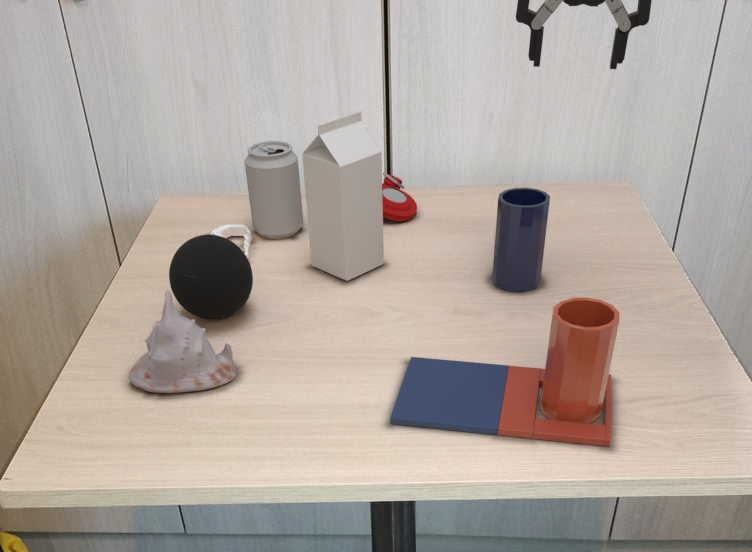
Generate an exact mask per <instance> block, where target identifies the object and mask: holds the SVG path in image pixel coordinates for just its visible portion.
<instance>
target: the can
mask: <svg viewBox="0 0 752 552" xmlns="http://www.w3.org/2000/svg"><path fill="white" fill-rule="evenodd" d="M247 153H248V154H247V156H246V157H245V159H244V169H245V177H246V184H247V191H248V199H249V206H250V207H249V208H250V215H251V223H252V227H253V231H255V232H257V233H258V234H259V235H260V236H262V237H264V238H266V239H272V240H273V239H274V240H275V239H277V240H278V239H279V240H280V239H285V238H289V237H291V236H292V237H293V236H294V235H296V234H297V233H298V232H299V230H300V229H302V227H303V226H304V214H303V201H302V190H301V189H302V188H301V179H300V178H301V177H300V169H299V158H298V155H297V154H296V153H295V152H294V151H293V146H292V144H290V143H289V142H286V141H283V140H264V141H260V142H255V143H253V144H252V145H250V146H249V147H248V148H247Z"/></svg>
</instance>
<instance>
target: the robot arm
mask: <svg viewBox="0 0 752 552" xmlns="http://www.w3.org/2000/svg"><path fill="white" fill-rule="evenodd" d="M530 1H531V0H517V3H516V11H515V20H516V22H517V23H520V24H524V25H526V26H528V28H529V29H530V34H529V35H530V36H529V45H528V61H530V62H533V67H535V68H539V67H540V66H541V58H542V50H543V41H544V31H545V26H544V25H545V23H546V22H547V21H548V20H549V18H550V17H551V16H552V15H553V14H554V13H555V12H556V10H557V9H558V8H559V6H560V5H561V4H562V3H564V4H565V5H568V7H578V6H581V5H585V6H588V7H599V6H600V5H602V4H604V3H605V4H606V6H607V8H608V9H609V11H610V13H611V15H612V17H613V19H614V21H615V22H616V24H617V27H615V29H614V35H613V42H612V48H611V55H610V61H609V69H610V70H617V68H618V64H619V65H620V64H623V62H624V61H625V57H626V51H627V46H628V40H629V35H630V32H631V31H632V30H633V29H635V28H637V27H640V26H646V25H647V24H648V23H649V21H650V18H651V9H652V1H653V0H637V8H636V11H632V12H630V13H628V10H627V9H626V7H625V5H624V3H623V0H544V2H543V3H542V4H541V6H539V8H538V9H537V10H536V11H534V10H533V9H530Z"/></svg>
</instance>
